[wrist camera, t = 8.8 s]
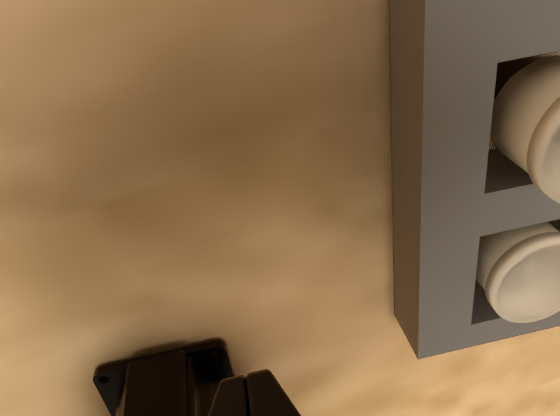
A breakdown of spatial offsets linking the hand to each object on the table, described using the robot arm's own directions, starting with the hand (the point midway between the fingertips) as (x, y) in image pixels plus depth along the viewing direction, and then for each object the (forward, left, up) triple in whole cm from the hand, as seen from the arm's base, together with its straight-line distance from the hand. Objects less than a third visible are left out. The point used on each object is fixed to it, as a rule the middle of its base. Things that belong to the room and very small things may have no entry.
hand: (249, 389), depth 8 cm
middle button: (-1, -12, -10) cm, 16 cm away
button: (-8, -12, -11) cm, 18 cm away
